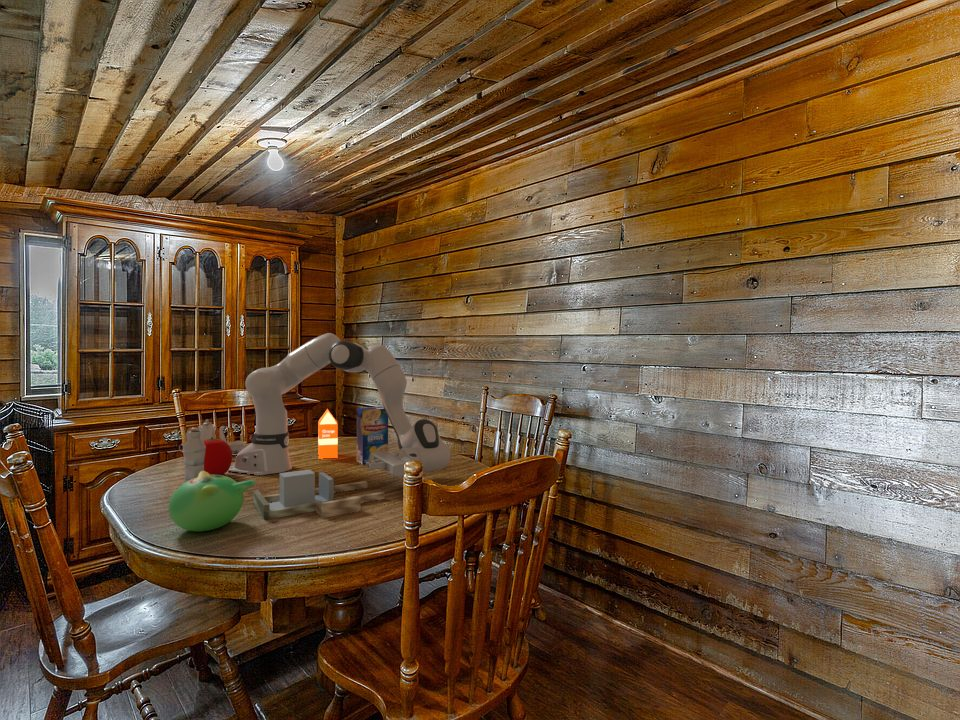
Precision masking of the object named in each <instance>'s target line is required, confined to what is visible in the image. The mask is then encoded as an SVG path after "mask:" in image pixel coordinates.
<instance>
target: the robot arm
mask: <svg viewBox="0 0 960 720" xmlns="http://www.w3.org/2000/svg"><path fill="white" fill-rule="evenodd" d="M330 364H331V365H332V366H333V367H334V368H336V369H338V370H340V371H344V372H347V373H354V374H356V373H357V374H361V373H366V372H367V373H368V374H369V376H370V378H371V380H372V381H373V383H374V385H375V388H376V389H377V391H378V394H379V395H380V399H381V402H382V405H383V406H382V407H384V409H385V411H386V413H387V416H388V421H389V422H390V424H391V426H392V428H393V431H394V432H395V435H396V439H397V445H398V448H399V450H398V451H397V452H396V453H395V452H393V451H388V452H374V453H371V461H370V462H367V463H366V465H365V466H366V468H368V469H369V470H383V471H385V472H386V473H387V474H390V475H391V476H393V477H405V476H404V464H405V463H406V462H408V461H412V460H417V461H420V462H421V463H422V464H423V471H422V472H424V473H425V472H434V471H439V470H443V469H444V468H447V466H448V465H449V463H450V460H451V457H452V455H451V453H452V452H451V449H450V446H448V445H447V444H446V443H445V442H444V440H442V438H441V436H440V434H439V430H438V427H437V425H436V424H435V423H434V422H433V421H431V420H430V419H426V418H424V419H419V420H418V421H416V422H415V423H414V424H413V425H411V422H410V420H409V419H408V416H407V414H406V412H405V410H404V404H403V403H404V400H403V399H404V396H405V395H404V394H405V392H406V389H407V383H408V382H407V378H406V375H405V372H404V371H403V369H402V367H401V366H400V364H399V362H398V361H397V360H396V358H395V357H394V355H393V354H392V353H391V351H389V349H388V348H387V347H386V346H384V345H380V344H379V345H378V344H377V345H374V346H371V347H369V348H368V347H367V346H365V345H362V344H361V343H359V342H352V341H350V340H341V339H340V338H339V337H338V336H337V335H336V334H334V333H331V332H327V333H324V334H322V335H321V334H320V335H318V336H317V337H314V338H313V339H310V340H308V341H307V342H305V343H304V344H302V345H301V346H299V347H297V348H295V349H294V350H292V351H291V352H289V353H288V354H287V355H286V356H285V357H284V358H283V359H282V360H281V361H280V362H278V363H277V364H275V365H273V366H270V367H269V366H268V367H260V368H258V369H256V370H254V371H251V373H249V374H248V375H247V377H246V379H245V382H244V384H245V386H244V387H245V389H246V391H247V392H248V394H249V395H250V396H251V399H252V402H253V406H254V410H255V424H256V425H255V432H254V433H253V434H251V435H249V440H251V443H249V444H248V445H247V446H245V448H244V449H243V450H242V451H240V452H239V453H238V454H237V456H235V460H234V464H233V465H231V466H230V468H229V470H228V471H232V472H239V473H238V474H241V473H247V474H246V475H250V474H254V475H253V476H259V475H260V476H266V475H271V474H280V473H286V472H289V471H290V470H292V469H293V466H292V463H291V458H290V454H289V453H290V452H289V443H290V435H289V434H290V433H289V431H288V410H287V409H286V407H285V405H284V401H283V397H282V395H285V394H286V393H288V392H290V390H293V388H295V387H297V386H298V385H299V384H300V383H302V382H303V381H304V380H305V379H307V378H309V377H310V376H312V375H314V374H315V373H317V372H319V371H320V370H321V369H323V368H325V367H326V366H328V365H330ZM228 471H227V472H228ZM232 472H231V473H232Z"/></svg>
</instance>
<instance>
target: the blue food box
mask: <svg viewBox="0 0 960 720" xmlns="http://www.w3.org/2000/svg"><path fill="white" fill-rule="evenodd" d="M374 452H389V418H388V416H387V413H386V411H385V409H384V406H381V405H380V406H379V405H378V406H366V407H363V406H362V407H356V463H358V462H359V463H358V464H360V463H361V464H360V465H362V466H365V465H364V464H366V463H367V462H370V461H371V453H374Z"/></svg>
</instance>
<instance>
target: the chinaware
mask: <svg viewBox="0 0 960 720" xmlns="http://www.w3.org/2000/svg"><path fill="white" fill-rule="evenodd" d="M197 426H198V427H191V428H189V429H188V430H187V431H186V433H185V440H186V441H187V440H188V438H187V436H188V431H193V430H200V431H201V437H200V439H201V440H202V441H203V440H204V441H205V440H208V439H211V437H213V439H216V436H215V429H216V424H212V423H211V421H210V420H209V419H208V418H207V419H205V421H204V422H203V423H202V424H201V425H197ZM225 427H226V425H222V426H220V427H219V429H218V434H219V439H221V440H224V441H225V442H227V444H228V445H229V446H230V448H231V450H232V454H238V453H239V452H240V451H242V450H243V449H244V448H245V447H246V444H247V441H243V440H235V441H227V439H226V436H225V434H224V428H225ZM186 441H184V442H181V444H180V445H179V446H178V450H179V452H181V453H183V450H181V446H182V447H183V446H184V444H185V443H186Z"/></svg>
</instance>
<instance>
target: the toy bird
mask: <svg viewBox="0 0 960 720" xmlns="http://www.w3.org/2000/svg"><path fill="white" fill-rule="evenodd" d="M183 483H184V482H183ZM183 483H182V484H181V485H179V487H178V488H176V490H175V491H174V492H173V494H172V495H171V497H170V499H169V501H168V502H169V503H168V513H169V517H170V519H171V520H172V522H173V523H174V524H175V525H176V526H177V527H179V528H181V529H183V530H185V531H189V532H199V533H200V532H208V531H211V530H215V529H218V528H219V529H220V528H221V527H223V526H225V525H226V524H227V525H228V523H230V522H231V521H232V520H234V518H235V517H236V516H237V515H238V514H239V512H240V511H241V509H242V507H243V505H244V504H243V503H244V496H245V495H244V493H245V492H246V491H247V490H250V489H251V488H252V487H254V485H256V484H257V479H250V480H249V479H248V480H243V481H239V482H237V481H236V480H235V479H233V478H231V477H229V476H226V475H210V474H209V473H208V472H206V471H201V472H200V473H199V474H198V477H196V478H193V479H191V480H189V481H187V482H185V483H184V484H183Z"/></svg>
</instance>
